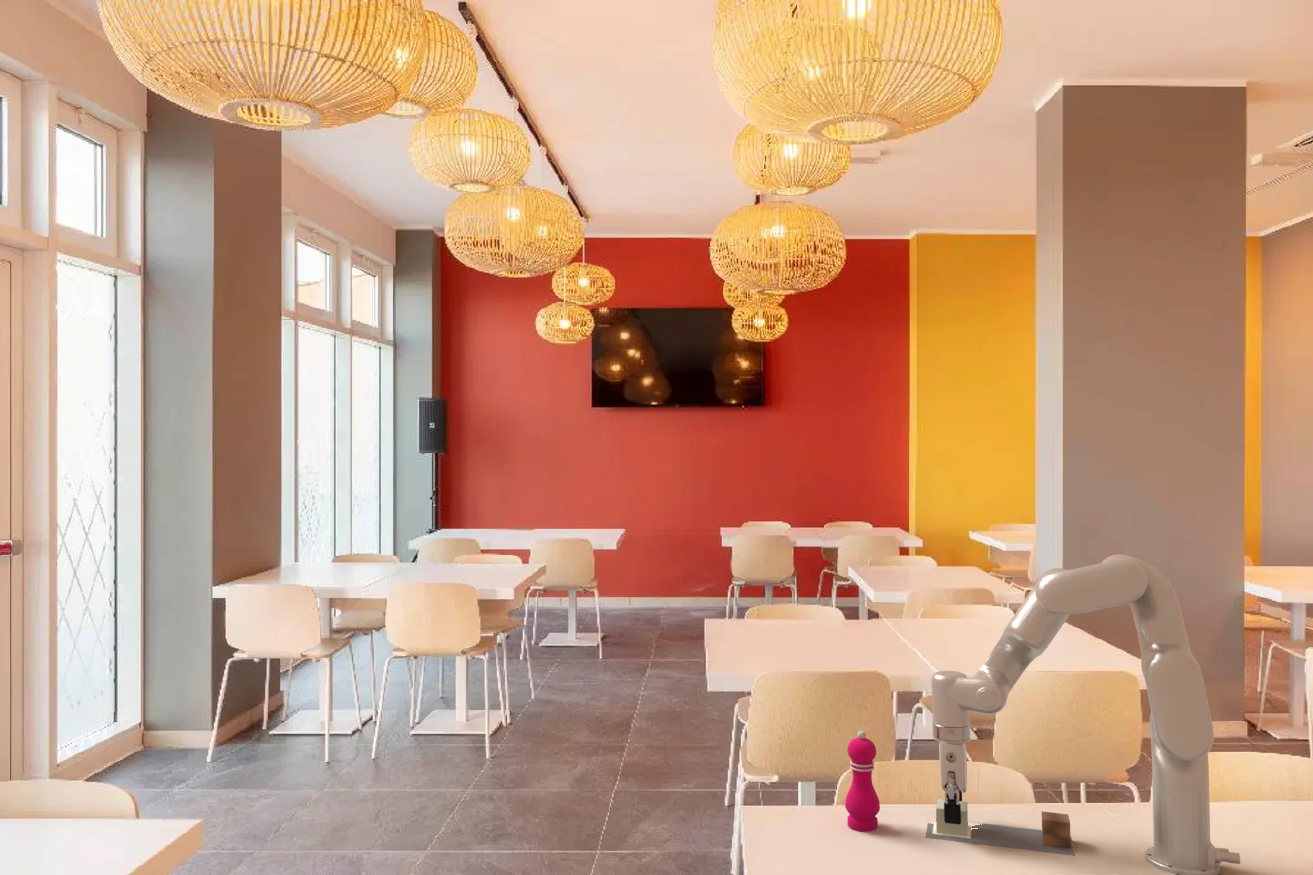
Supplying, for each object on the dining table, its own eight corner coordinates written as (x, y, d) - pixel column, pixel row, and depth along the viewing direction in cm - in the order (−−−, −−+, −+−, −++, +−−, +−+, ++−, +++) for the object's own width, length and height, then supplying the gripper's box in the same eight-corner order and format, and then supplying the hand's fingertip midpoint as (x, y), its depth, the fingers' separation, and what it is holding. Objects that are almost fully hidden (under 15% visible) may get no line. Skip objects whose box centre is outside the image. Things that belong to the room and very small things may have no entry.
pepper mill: (880, 833, 195) (879, 736, 196) (845, 831, 197) (844, 734, 198) (879, 821, 203) (878, 727, 203) (845, 818, 204) (844, 725, 205)
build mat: (1069, 835, 195) (1069, 832, 195) (1074, 857, 183) (1074, 854, 183) (928, 818, 204) (928, 816, 204) (925, 839, 193) (925, 836, 193)
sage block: (967, 825, 198) (967, 801, 199) (967, 836, 193) (966, 811, 193) (937, 822, 200) (937, 798, 201) (936, 832, 195) (936, 808, 195)
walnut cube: (1068, 839, 191) (1068, 814, 192) (1070, 848, 187) (1070, 822, 187) (1042, 835, 193) (1041, 811, 193) (1043, 845, 188) (1042, 819, 189)
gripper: (969, 744, 188) (971, 831, 187) (971, 722, 204) (973, 803, 203) (930, 741, 190) (932, 827, 190) (934, 720, 207) (937, 799, 206)
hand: (953, 814), depth 197 cm, fingers open, 9 cm apart
